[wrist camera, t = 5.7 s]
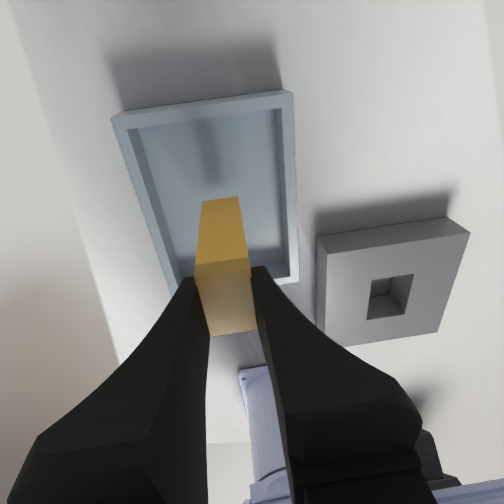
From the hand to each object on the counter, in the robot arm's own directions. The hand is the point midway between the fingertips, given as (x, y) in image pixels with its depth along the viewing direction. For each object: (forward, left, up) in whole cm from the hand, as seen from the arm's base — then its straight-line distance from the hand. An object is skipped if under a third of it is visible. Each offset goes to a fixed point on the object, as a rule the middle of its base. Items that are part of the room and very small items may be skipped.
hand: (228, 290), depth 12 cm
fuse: (0, 0, -6) cm, 6 cm away
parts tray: (0, 0, -9) cm, 9 cm away
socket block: (-9, -11, -9) cm, 17 cm away
